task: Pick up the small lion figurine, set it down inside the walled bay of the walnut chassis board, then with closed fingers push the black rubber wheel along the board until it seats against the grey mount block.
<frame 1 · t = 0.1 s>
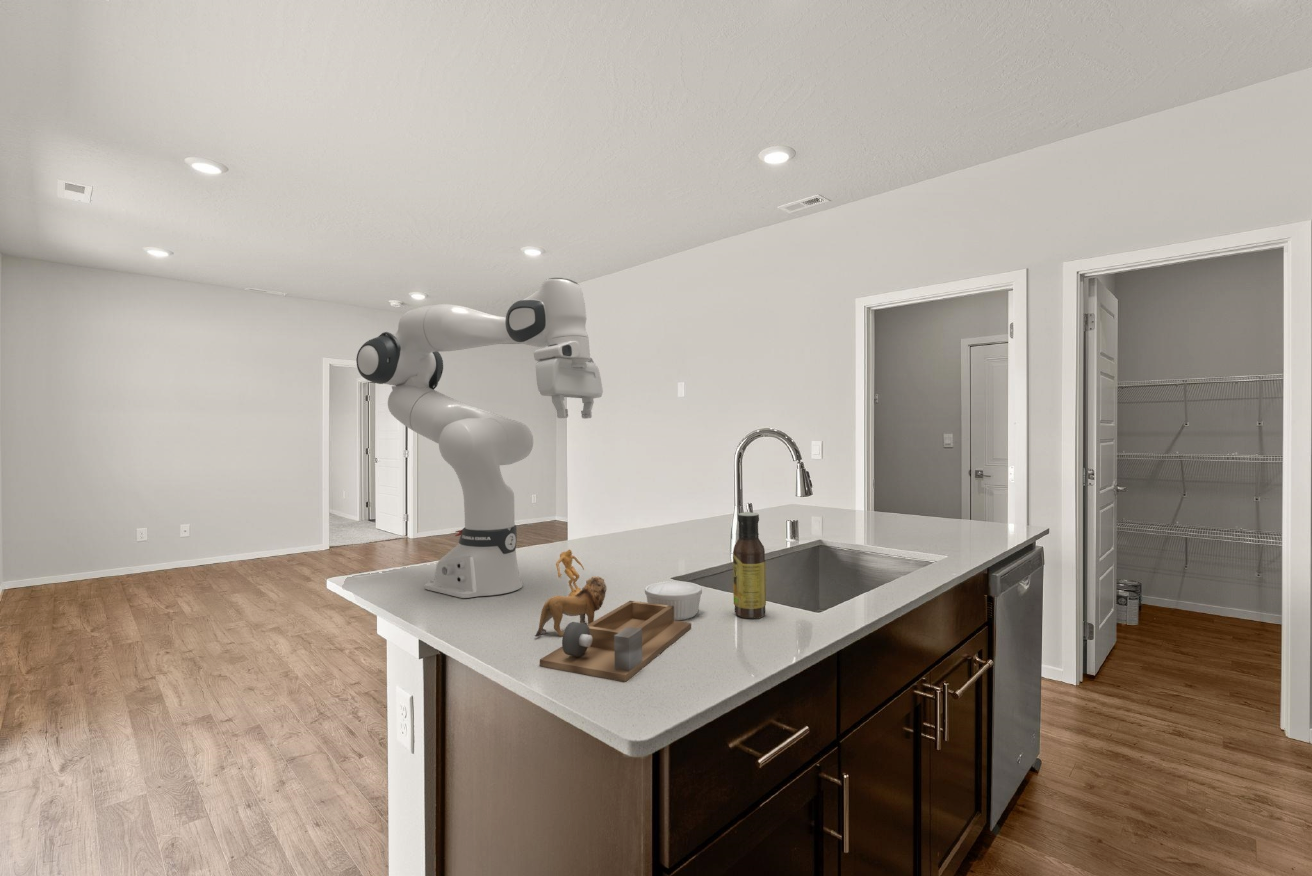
hand: (575, 418, 132), 39 cm above the counter, tool pointing down, fingers open, 8 cm apart
chassis: (621, 645, 105), on the counter
figurine: (573, 609, 127), on the counter
ramekin: (673, 614, 123), on the counter
lion figurine: (573, 630, 114), on the counter
wheel: (580, 639, 97), point 4 cm above the counter, slide at 0.0 cm
sauce bottle: (749, 615, 122), on the counter
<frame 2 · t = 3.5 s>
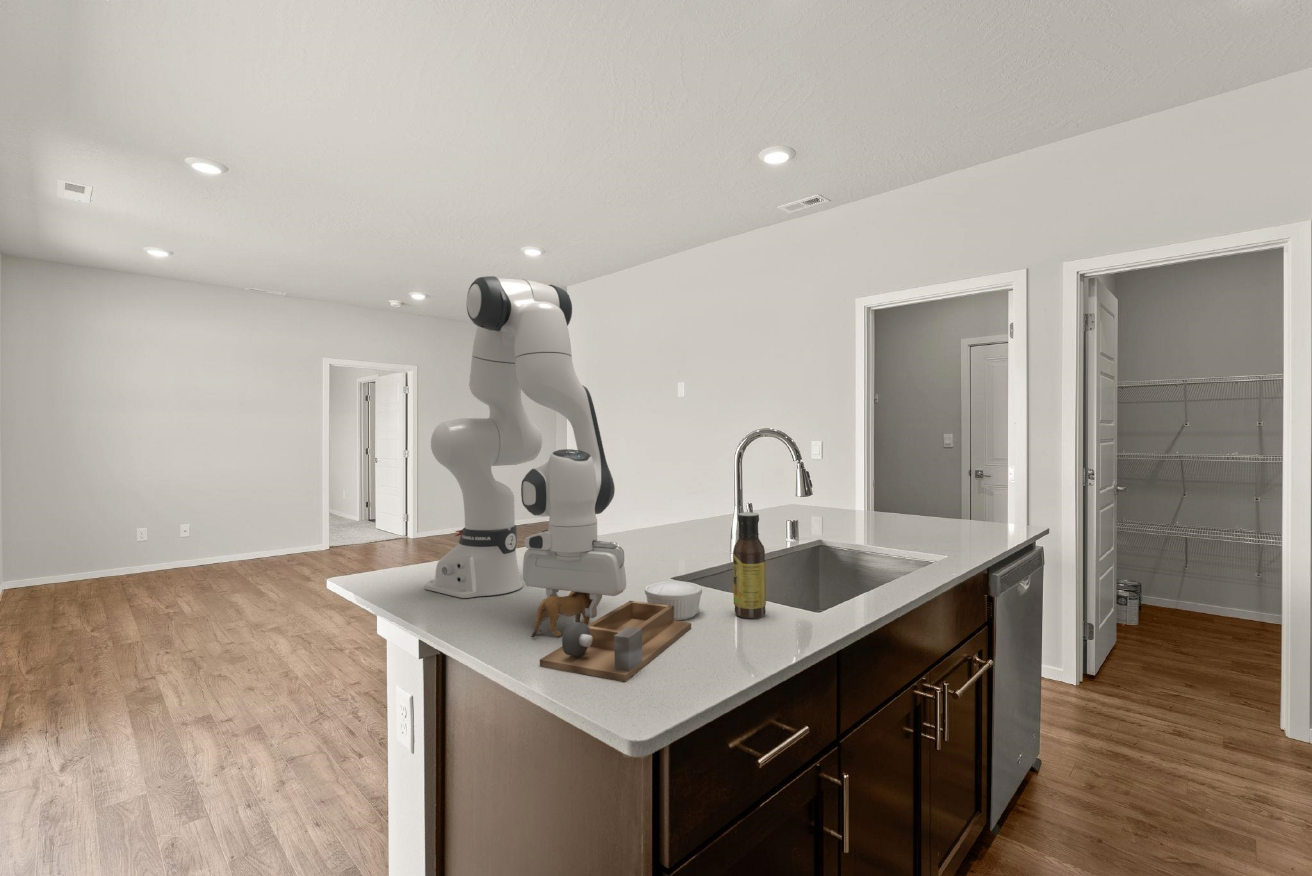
hand: (574, 614, 114), 3 cm above the counter, tool pointing down, fingers closed on lion figurine, 6 cm apart
lion figurine: (568, 630, 113), on the counter, touching gripper
everything else where it was.
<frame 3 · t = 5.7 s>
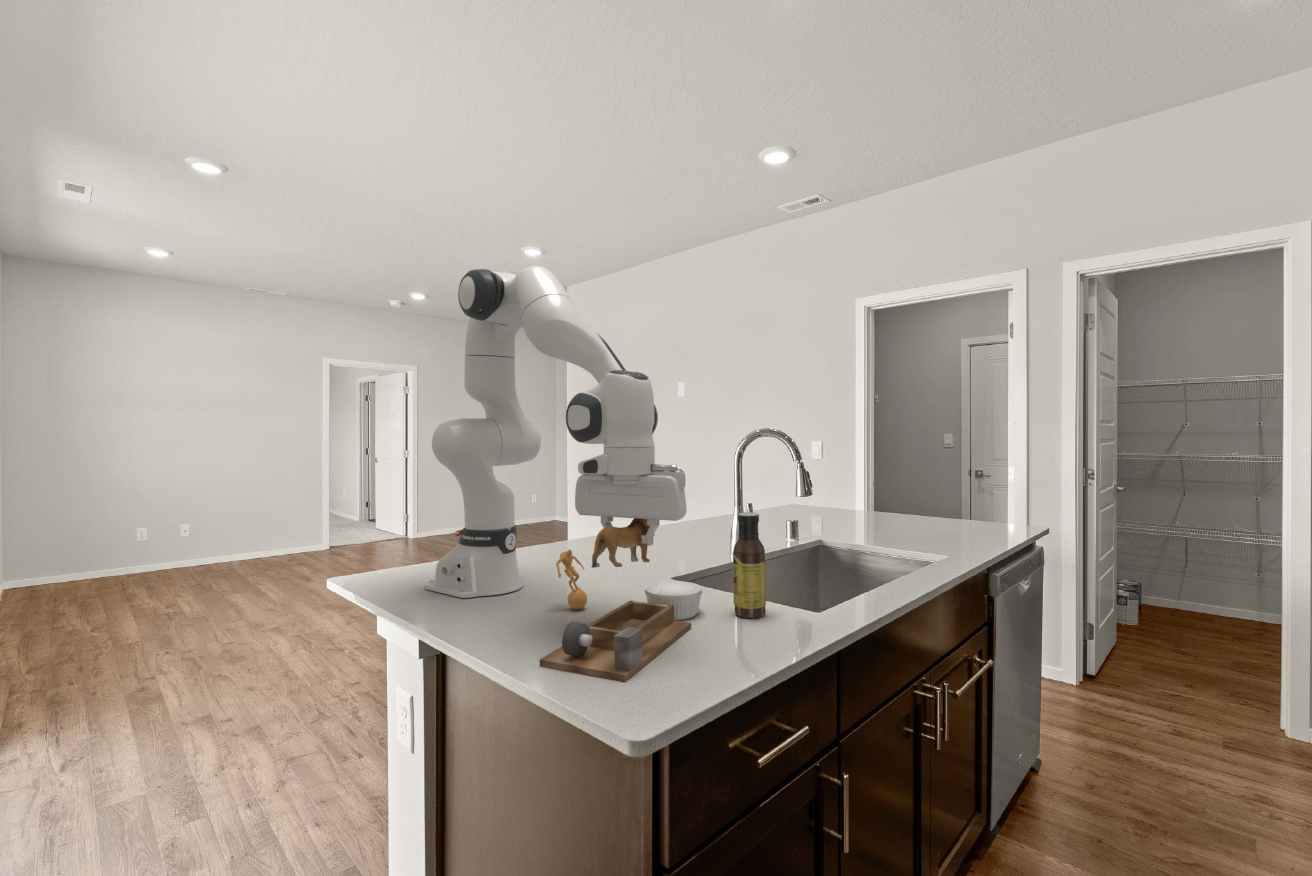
hand: (629, 543, 108), 17 cm above the counter, tool pointing down, fingers closed on lion figurine, 5 cm apart
lion figurine: (626, 564, 107), point 13 cm above the counter, touching gripper
everything else where it was.
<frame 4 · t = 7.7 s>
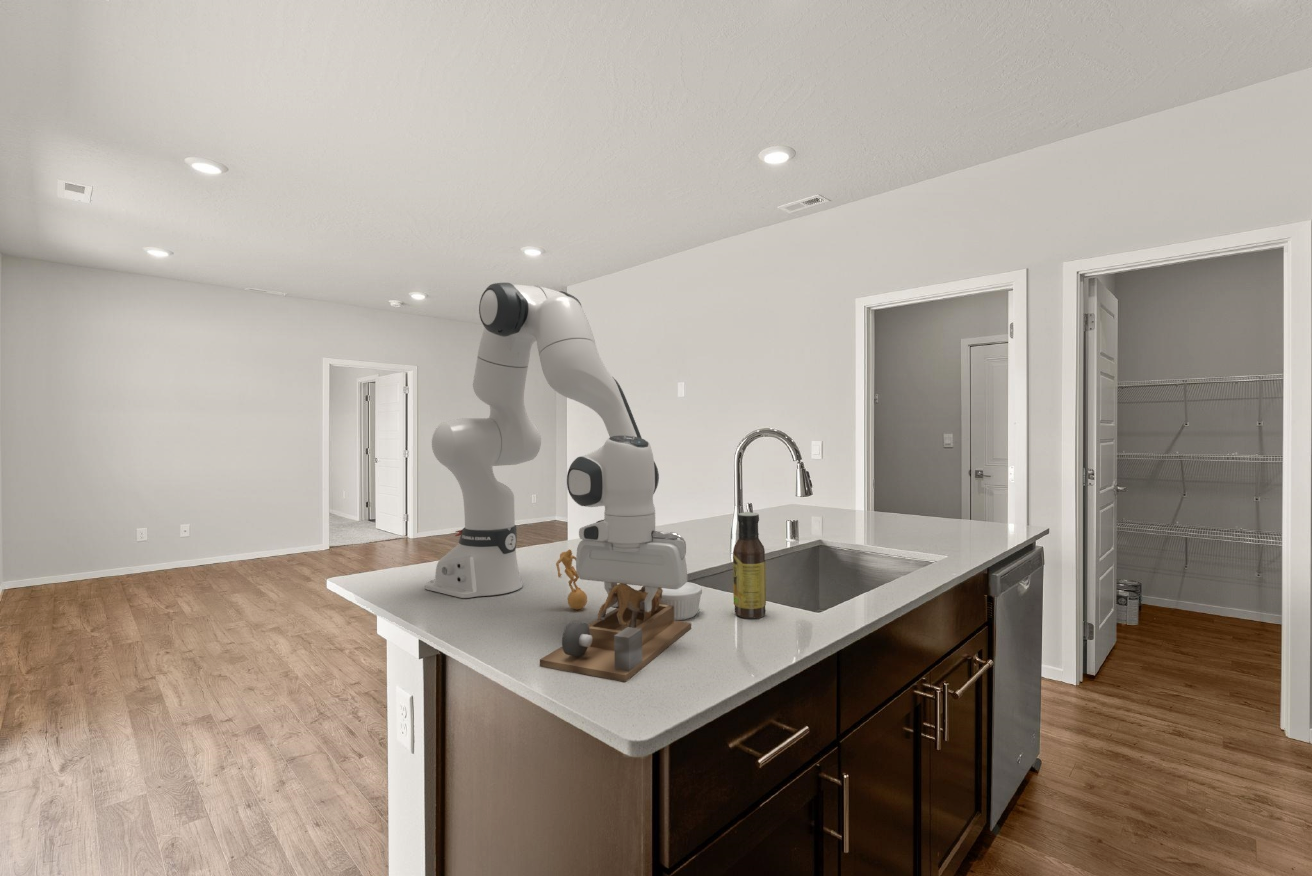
hand: (630, 609, 108), 5 cm above the counter, tool pointing down, fingers closed on lion figurine, 4 cm apart
lion figurine: (625, 627, 108), point 2 cm above the counter, touching chassis, gripper
everything else where it was.
when the fingers open (5 cm above the counter, at t = 7.7 s): lion figurine stays where it is, resting on chassis.
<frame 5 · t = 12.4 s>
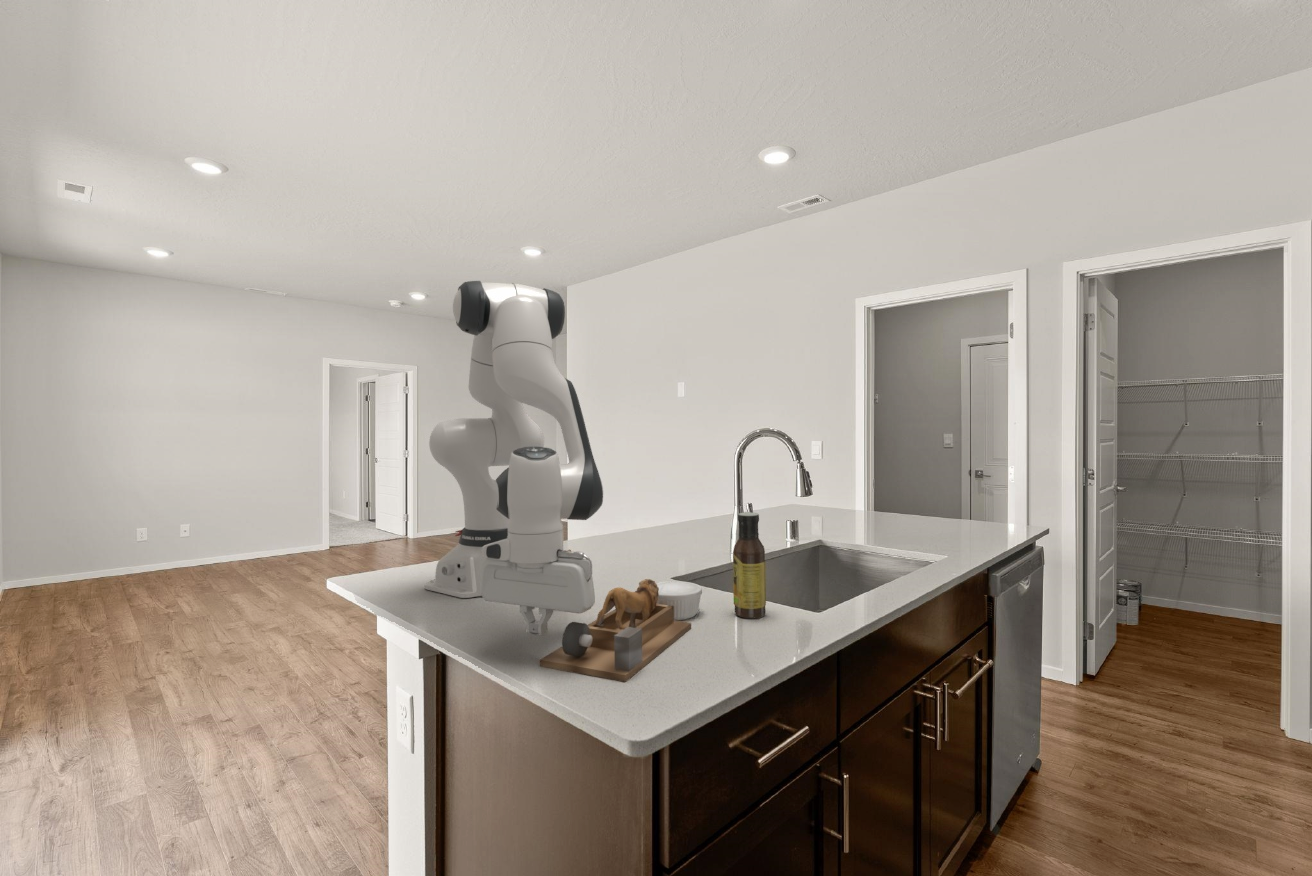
hand: (536, 633, 101), 4 cm above the counter, tool pointing down, fingers closed
lion figurine: (625, 630, 107), point 2 cm above the counter, touching chassis
everything else where it was.
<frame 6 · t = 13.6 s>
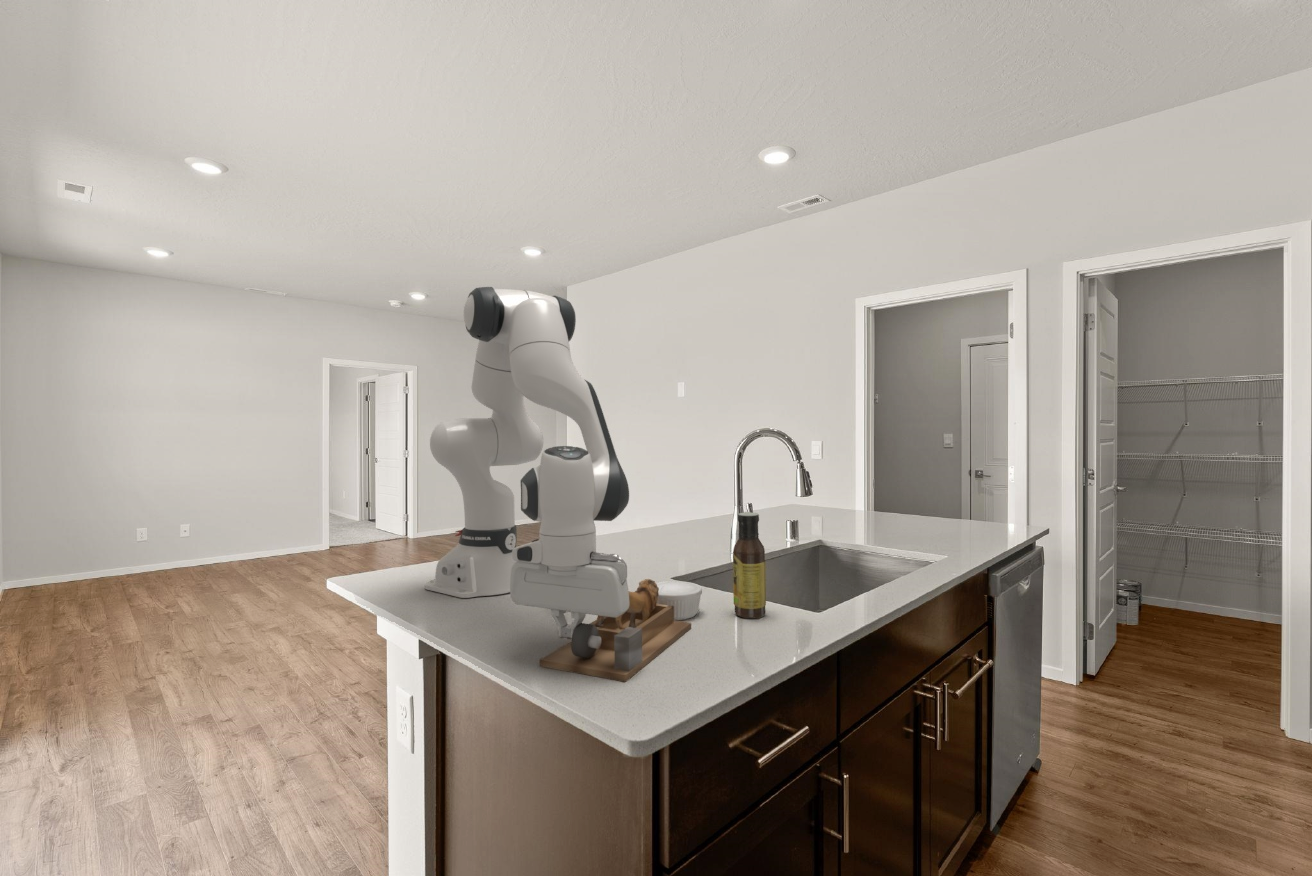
hand: (569, 637, 98), 4 cm above the counter, tool pointing down, fingers closed
wheel: (589, 640, 97), point 4 cm above the counter, slide at 1.6 cm, touching gripper
everything else where it was.
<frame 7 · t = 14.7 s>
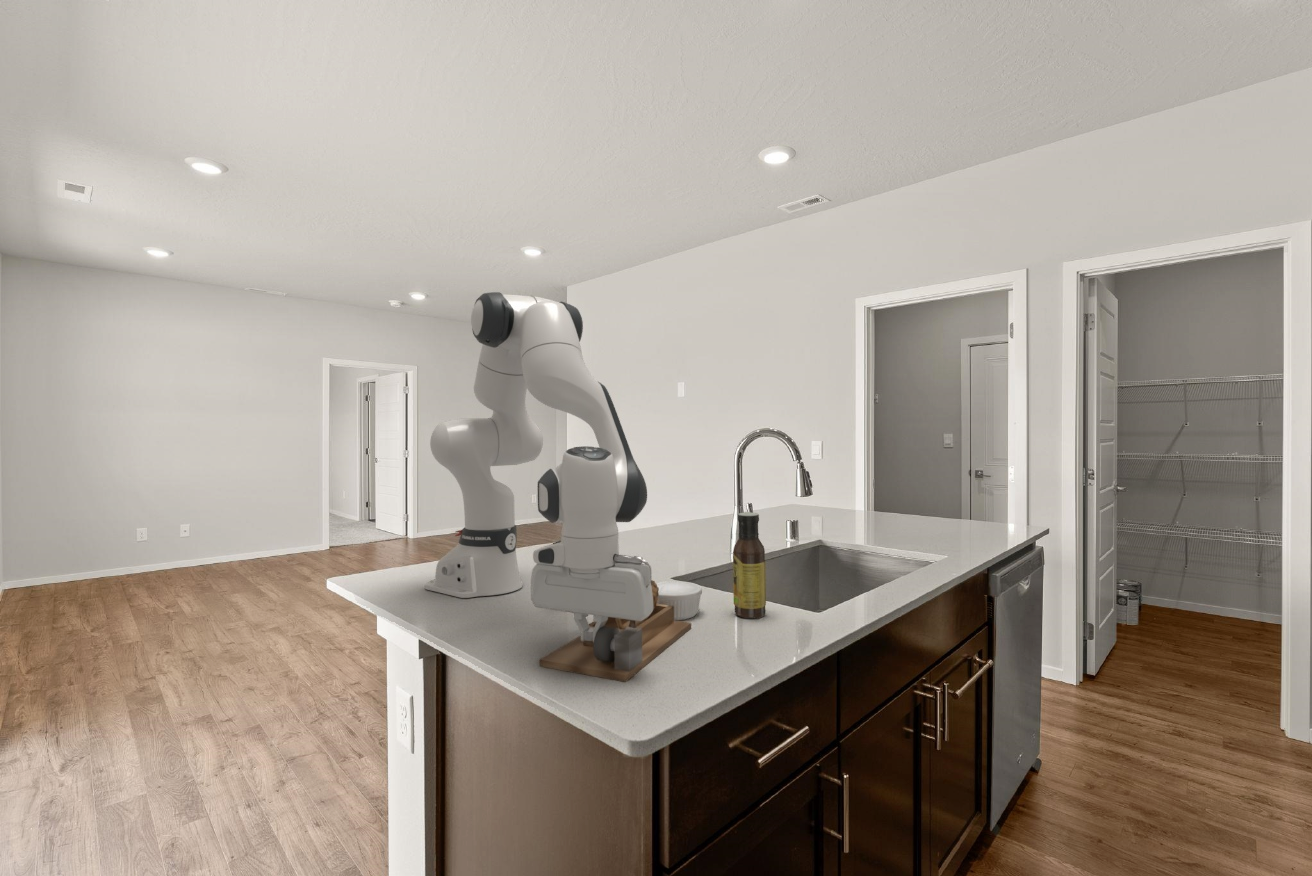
hand: (591, 641, 96), 4 cm above the counter, tool pointing down, fingers closed
wheel: (611, 644, 95), point 4 cm above the counter, slide at 5.5 cm, touching gripper
everything else where it was.
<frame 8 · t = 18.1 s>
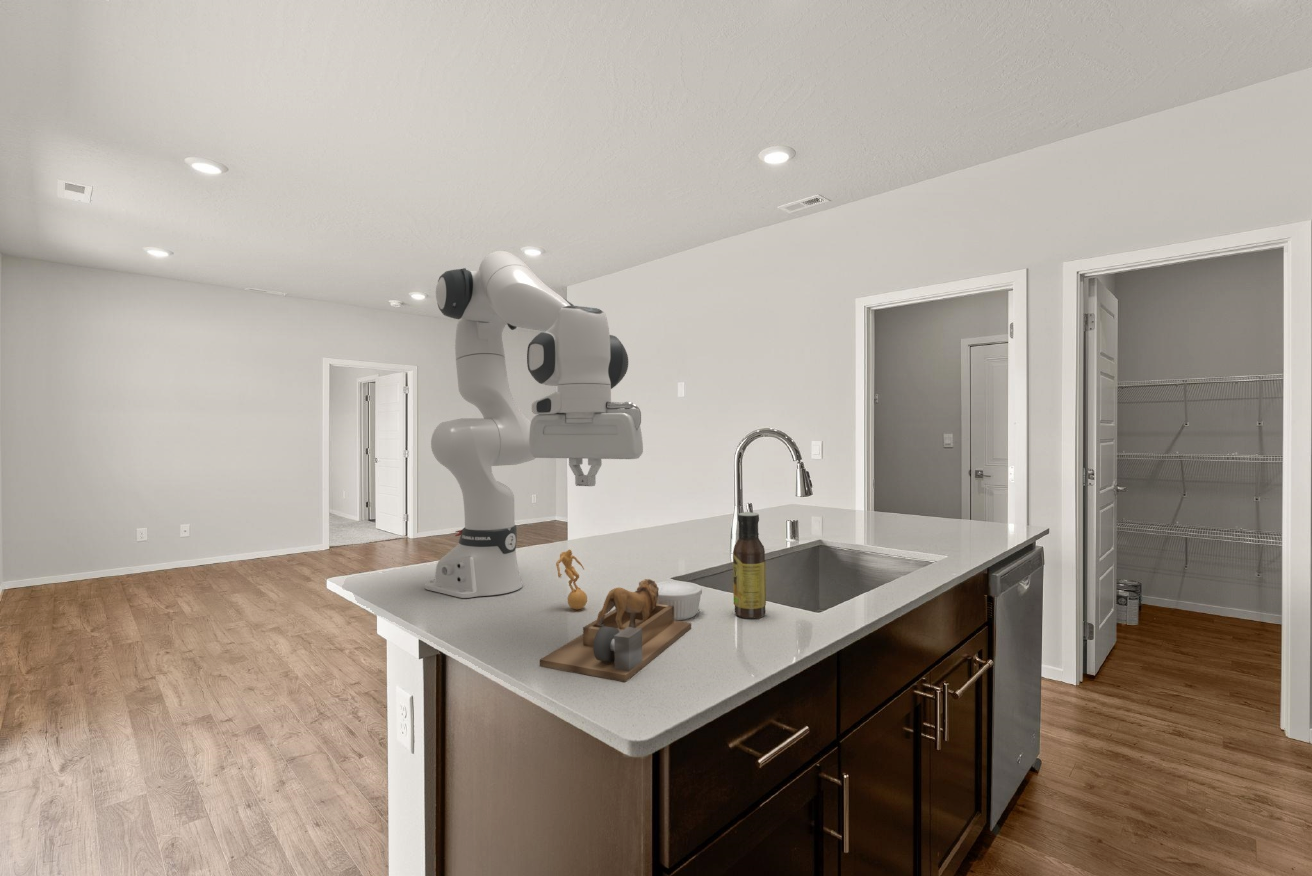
hand: (585, 485, 104), 27 cm above the counter, tool pointing down, fingers closed
wheel: (611, 644, 95), point 4 cm above the counter, slide at 5.5 cm
everything else where it was.
at the end: lion figurine inside the target area on the chassis (1.2 cm from its centre), point 1.8 cm above the chassis's base; wheel slide at 5.5 cm; the gripper is holding nothing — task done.
